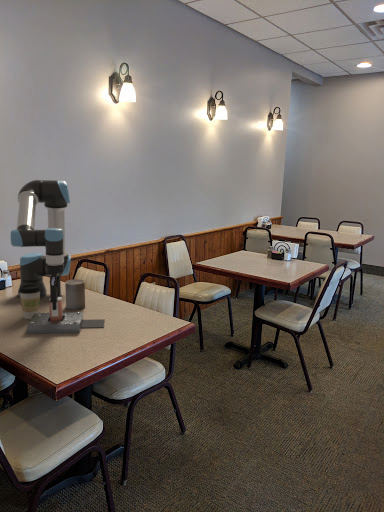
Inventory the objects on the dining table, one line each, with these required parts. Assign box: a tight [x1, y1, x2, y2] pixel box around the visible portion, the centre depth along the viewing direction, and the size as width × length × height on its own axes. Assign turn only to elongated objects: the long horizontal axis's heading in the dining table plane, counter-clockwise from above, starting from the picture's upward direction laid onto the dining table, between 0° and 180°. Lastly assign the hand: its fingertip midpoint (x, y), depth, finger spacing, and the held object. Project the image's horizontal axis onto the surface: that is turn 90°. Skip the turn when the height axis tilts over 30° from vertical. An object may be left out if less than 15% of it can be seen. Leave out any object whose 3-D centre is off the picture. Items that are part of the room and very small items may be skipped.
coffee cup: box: [18, 284, 41, 320], centre depth 195 cm, size 10×10×15 cm
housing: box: [26, 311, 84, 335], centre depth 185 cm, size 15×22×5 cm
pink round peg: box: [48, 296, 63, 321], centre depth 184 cm, size 5×5×13 cm
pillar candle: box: [64, 278, 86, 311], centre depth 212 cm, size 10×10×15 cm
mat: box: [81, 318, 105, 329], centre depth 191 cm, size 10×10×1 cm
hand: (56, 313), depth 184 cm, fingers closed on pink round peg, 5 cm apart
